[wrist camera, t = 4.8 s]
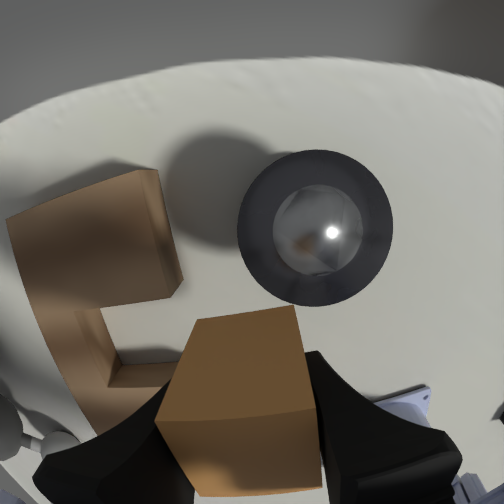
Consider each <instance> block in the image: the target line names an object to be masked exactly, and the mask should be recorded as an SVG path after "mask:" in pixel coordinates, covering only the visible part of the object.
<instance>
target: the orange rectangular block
mask: <svg viewBox="0 0 504 504" xmlns="http://www.w3.org/2000/svg"><path fill="white" fill-rule="evenodd" d="M155 423H156V425H157V427H158V429H159V431H160V432H161V434H162V436H163V438H164V440H165V441H166V443H167V445H168V447H169V448H170V450H171V452H172V453H173V455H174V457H175V458H176V460H177V462H178V463H179V465H180V467H181V468H182V470H183V471H184V473H185V475H186V476H187V478H188V479H189V481H190V482H191V484H192V485H193V487H194V488H195V490H196V491H197V493H198V494H199V496H202V497H238V496H259V495H271V494H282V493H291V492H298V491H305V490H312V489H318V488H322V473H321V460H320V447H319V436H318V425H317V414H316V406H315V401H314V396H313V391H312V386H311V382H310V377H309V372H308V367H307V363H306V358H305V353H304V349H303V344H302V340H301V335H300V331H299V326H298V322H297V317H296V313H295V309H294V305H289V306H283V307H277V308H271V309H265V310H259V311H253V312H246V313H239V314H233V315H226V316H219V317H212V318H204V319H197V321H196V323H195V325H194V328H193V330H192V332H191V335H190V337H189V339H188V342H187V344H186V346H185V349H184V351H183V353H182V356H181V358H180V360H179V363H178V365H177V368H176V370H175V372H174V375H173V377H172V379H171V382H170V384H169V387H168V389H167V391H166V394H165V396H164V399H163V401H162V404H161V406H160V408H159V411H158V413H157V416H156V418H155Z"/></svg>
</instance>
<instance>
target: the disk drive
mask: <svg viewBox="0 0 504 504" xmlns="http://www.w3.org/2000/svg"><path fill="white" fill-rule="evenodd" d="M500 420H501V422H502V423H503V424H504V412H503V414H502V415H501V417H500Z"/></svg>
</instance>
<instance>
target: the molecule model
mask: <svg viewBox="0 0 504 504" xmlns="http://www.w3.org/2000/svg"><path fill="white" fill-rule="evenodd" d="M79 444H81V443H80V442H79V441H78V440H77V439H76V438H75V437H74V436H72V435H70V434H68V433H66V432H60V431H56V432H52V433H49V434H47V435H46V436H45V437H44V438H43V440H41V439H38V438H36V437H33V436H31V435H28V434H26V433H23V424H22V421H21V419H20V416H19V414H18V412H17V410H16V408H15V407H14V406H13V405H12V404H11V402H10V401H9V400H8V399H7V398H6V397H4V396H3V395H2V394H0V461H5V460H7V459H9V458H11V457H13V456H15V455H16V454H17V453H18V451H19V449H20V447H21V446H23V447H26V448H28V449H31V450H33V451H36V452H39V453H41V456H42V459H44V457H45V456H46V455H47V454H51V453H55V452H58V451H62V450H65V449H68V448H71V447H74V446H77V445H79Z"/></svg>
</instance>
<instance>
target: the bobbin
mask: <svg viewBox="0 0 504 504" xmlns="http://www.w3.org/2000/svg"><path fill="white" fill-rule="evenodd" d="M237 233H238V243H239V248H240V252H241V255H242V258H243V260H244V262H245V265H246V267H247V268H248V270H249V272H250V273H251V275H252V276H253V277H254V279H255V280H256V281H257V282H258V283H259V284H260V285H261V286H262V287H263V288H264V289H265V290H267V291H268V292H269V293H271V294H272V295H274V296H276V297H277V298H279V299H281V300H284V301H286V302H289V303H292V304H296V305H300V306H309V307H319V306H327V305H331V304H335V303H339V302H341V301H344V300H346V299H348V298H350V297H352V296H354V295H355V294H357V293H358V292H360V291H361V290H362V289H364V288H365V287H366V286H367V285H368V284H369V283H370V282H371V281H372V280H373V279H374V278H375V276H376V275H377V274H378V272H379V271H380V269H381V268H382V266H383V264H384V262H385V260H386V258H387V256H388V253H389V250H390V246H391V242H392V235H393V217H392V212H391V207H390V204H389V200H388V198H387V195H386V193H385V191H384V189H383V187H382V186H381V184H380V183H379V181H378V180H377V179H376V177H375V176H374V175H373V174H372V173H371V172H370V171H369V170H368V169H367V168H366V167H365V166H363V165H362V164H360V163H359V162H358V161H356V160H354V159H352V158H350V157H348V156H346V155H343V154H341V153H338V152H333V151H328V150H305V151H300V152H296V153H293V154H290V155H287V156H285V157H283V158H281V159H279V160H277V161H275V162H274V163H273V164H271V165H270V166H268V167H267V168H266V169H265V170H264V171H263V172H262V173H261V174H260V175H259V176H258V177H257V178H256V179H255V181H254V182H253V183H252V184H251V186H250V188H249V189H248V191H247V193H246V195H245V197H244V199H243V202H242V204H241V208H240V212H239V217H238V225H237Z"/></svg>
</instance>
